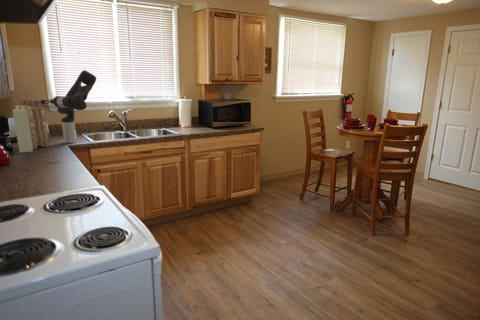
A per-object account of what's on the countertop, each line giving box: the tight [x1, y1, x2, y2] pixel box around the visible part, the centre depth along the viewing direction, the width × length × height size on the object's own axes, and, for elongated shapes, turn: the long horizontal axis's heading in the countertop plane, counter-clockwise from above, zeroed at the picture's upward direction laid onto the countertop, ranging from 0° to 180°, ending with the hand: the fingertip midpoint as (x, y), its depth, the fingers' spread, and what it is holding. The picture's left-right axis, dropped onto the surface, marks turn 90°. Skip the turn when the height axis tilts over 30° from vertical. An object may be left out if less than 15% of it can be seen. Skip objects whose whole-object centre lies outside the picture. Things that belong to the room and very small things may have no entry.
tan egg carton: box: [14, 104, 50, 150], centre depth 250 cm, size 16×12×32 cm
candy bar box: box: [46, 121, 51, 142], centre depth 271 cm, size 11×5×16 cm, turn 146°
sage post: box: [12, 109, 34, 154], centre depth 233 cm, size 8×8×30 cm
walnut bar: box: [19, 99, 48, 107], centre depth 243 cm, size 25×4×4 cm, turn 65°
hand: (46, 101), depth 231 cm, fingers open, 8 cm apart
